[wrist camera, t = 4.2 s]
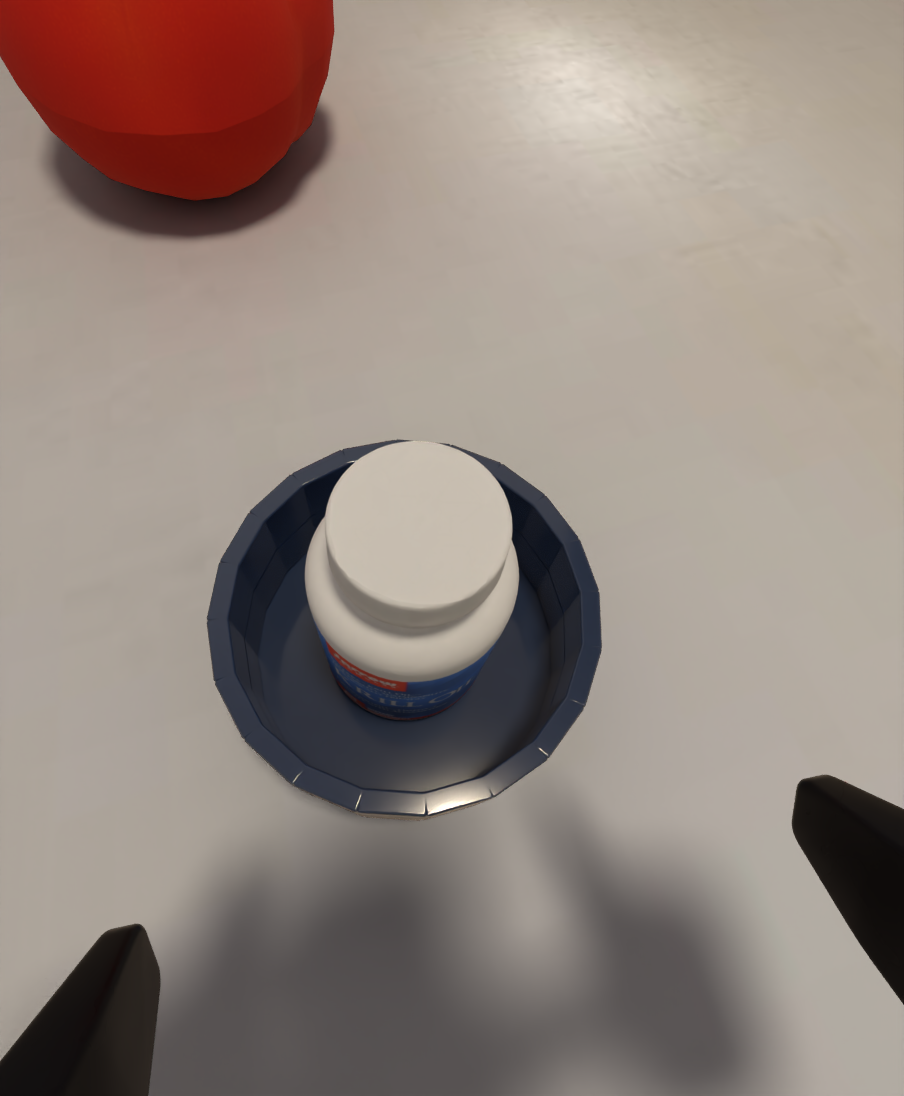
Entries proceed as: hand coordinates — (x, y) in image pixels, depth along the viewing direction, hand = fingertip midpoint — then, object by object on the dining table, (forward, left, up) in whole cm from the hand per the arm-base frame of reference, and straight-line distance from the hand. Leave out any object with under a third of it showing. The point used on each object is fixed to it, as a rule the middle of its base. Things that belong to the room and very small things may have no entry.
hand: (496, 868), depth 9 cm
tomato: (+26, +22, -13) cm, 36 cm away
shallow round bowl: (+6, +3, -13) cm, 14 cm away
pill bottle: (+6, +3, -12) cm, 14 cm away
